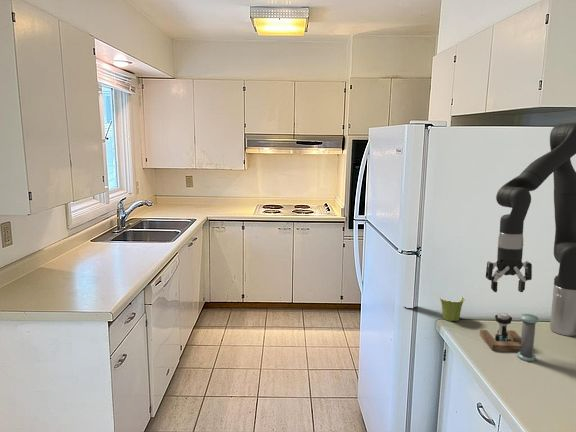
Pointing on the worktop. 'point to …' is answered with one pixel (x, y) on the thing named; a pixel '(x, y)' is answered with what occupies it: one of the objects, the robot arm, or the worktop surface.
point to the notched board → (502, 345)
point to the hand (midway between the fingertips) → (507, 291)
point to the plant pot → (451, 309)
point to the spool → (527, 337)
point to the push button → (502, 326)
